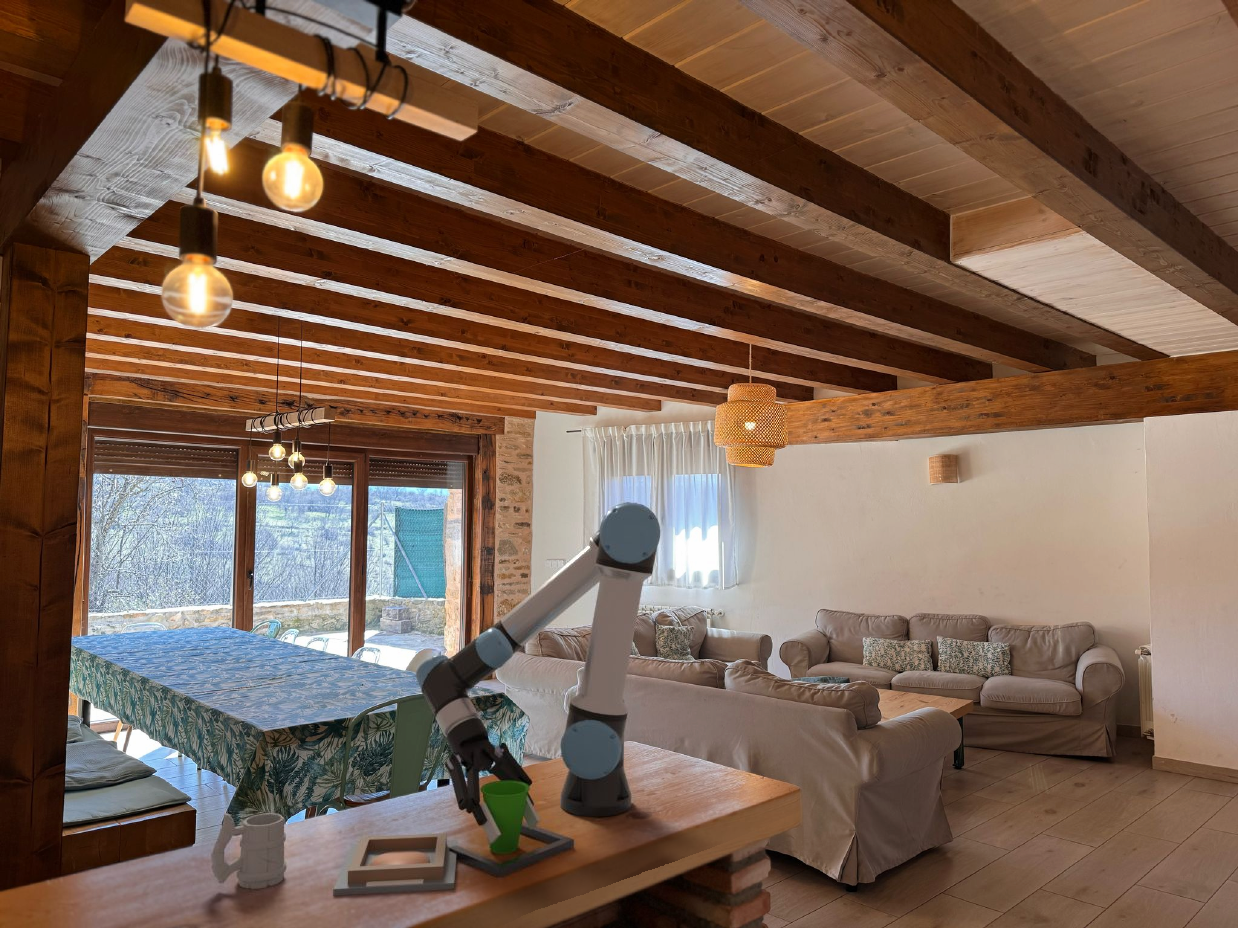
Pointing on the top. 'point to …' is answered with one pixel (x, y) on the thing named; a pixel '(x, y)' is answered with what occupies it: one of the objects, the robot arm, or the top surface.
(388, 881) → the socket board
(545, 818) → the top surface
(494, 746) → the robot arm
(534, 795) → the top surface
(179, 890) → the top surface
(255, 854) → the mug
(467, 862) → the dark grey u frame
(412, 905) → the top surface
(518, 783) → the cup
